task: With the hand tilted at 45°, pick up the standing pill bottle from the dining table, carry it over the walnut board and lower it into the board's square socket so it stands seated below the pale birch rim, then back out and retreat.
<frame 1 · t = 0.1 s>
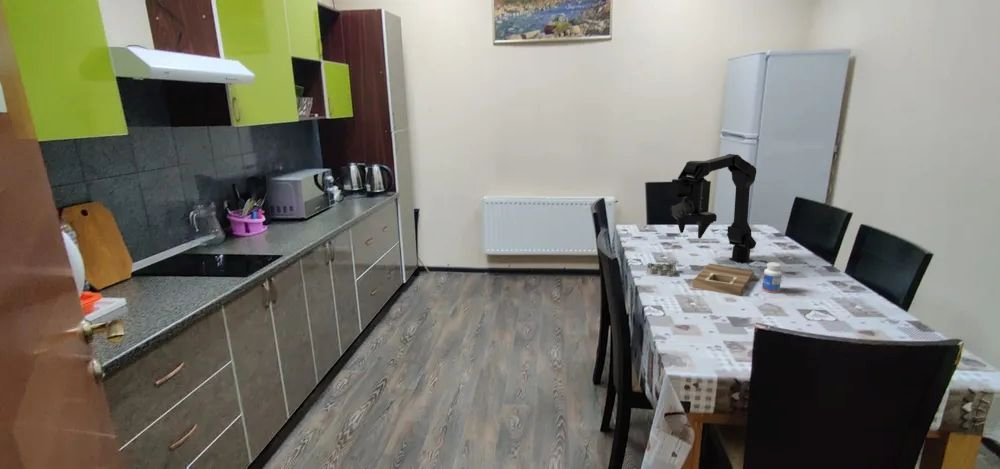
hand: (690, 235, 190), 15 cm above the table, tool pointing down, fingers open, 9 cm apart
egg carton: (660, 273, 194), on the table
pill bottle: (770, 291, 174), on the table
socket board: (723, 281, 183), on the table
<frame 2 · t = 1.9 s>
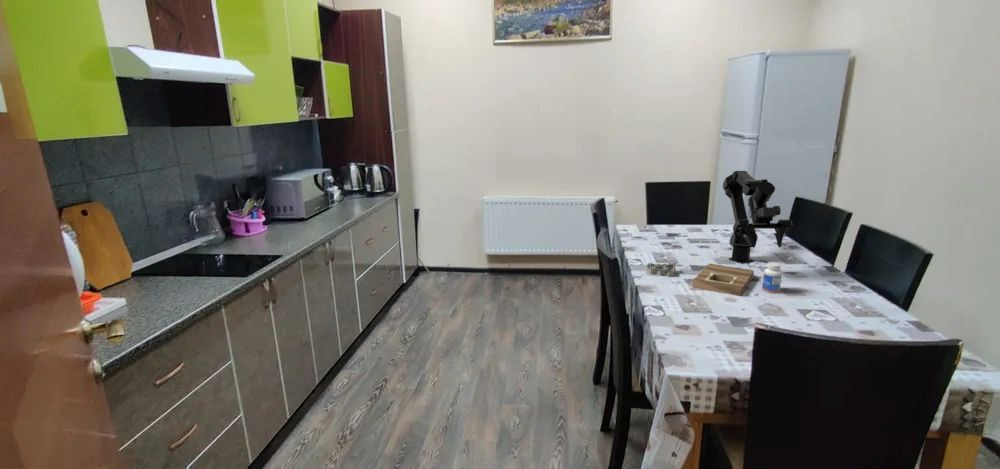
hand: (766, 246, 178), 13 cm above the table, tool tilted 45°, fingers open, 9 cm apart
nothing on the table moved.
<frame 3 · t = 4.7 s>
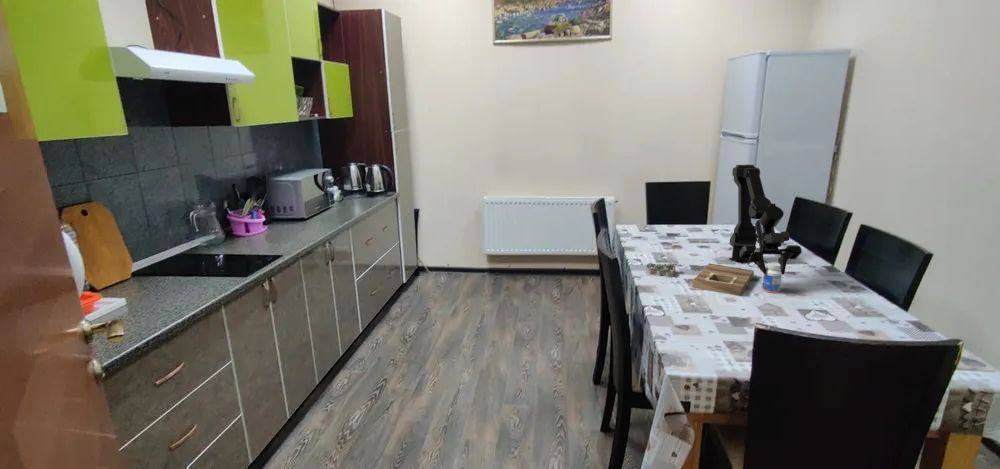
hand: (774, 273, 170), 7 cm above the table, tool tilted 45°, fingers closed on pill bottle, 5 cm apart
pill bottle: (770, 290, 174), on the table, touching gripper
everything else where it was.
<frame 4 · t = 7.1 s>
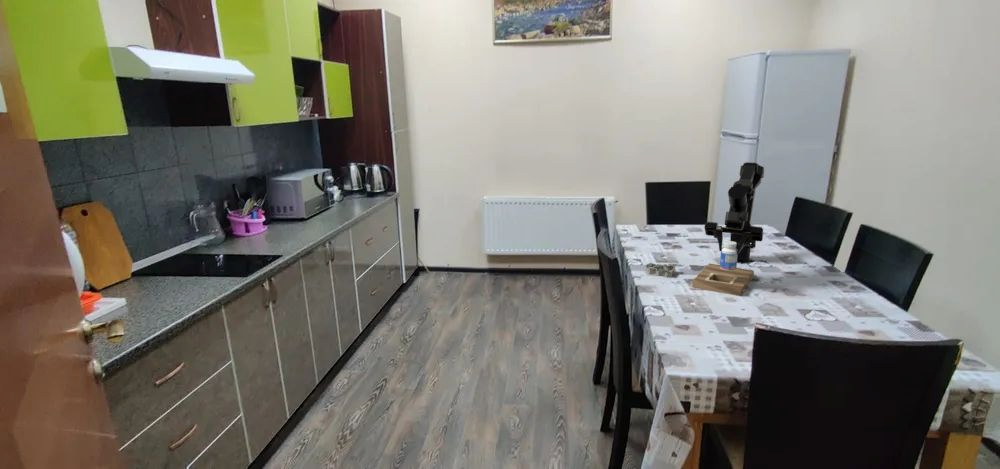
hand: (728, 251, 174), 13 cm above the table, tool tilted 45°, fingers closed on pill bottle, 5 cm apart
pill bottle: (727, 269, 177), point 6 cm above the table, touching gripper
everything else where it was.
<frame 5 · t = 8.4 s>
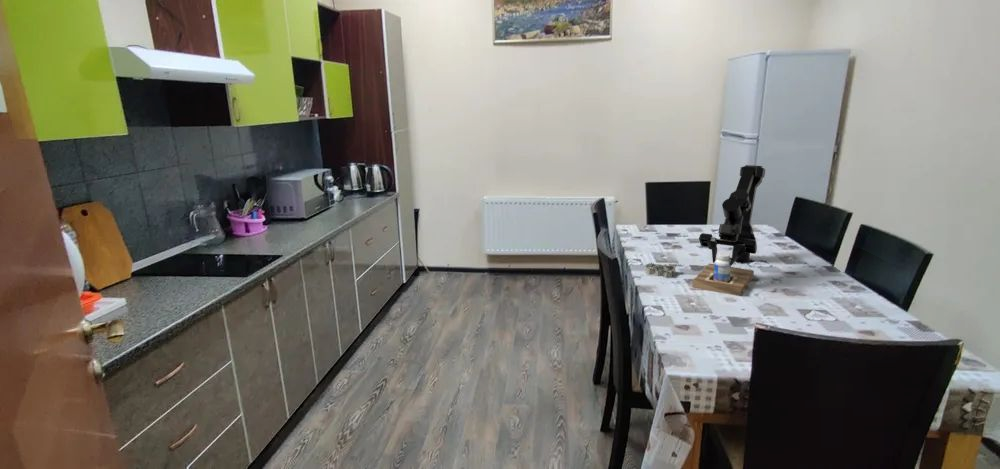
hand: (721, 263, 176), 9 cm above the table, tool tilted 45°, fingers closed on pill bottle, 5 cm apart
pill bottle: (721, 280, 179), point 2 cm above the table, touching gripper
everything else where it was.
when the fingers open (8 cm above the table, at t = 9.6 s): pill bottle drops 2 cm, resting in socket board.
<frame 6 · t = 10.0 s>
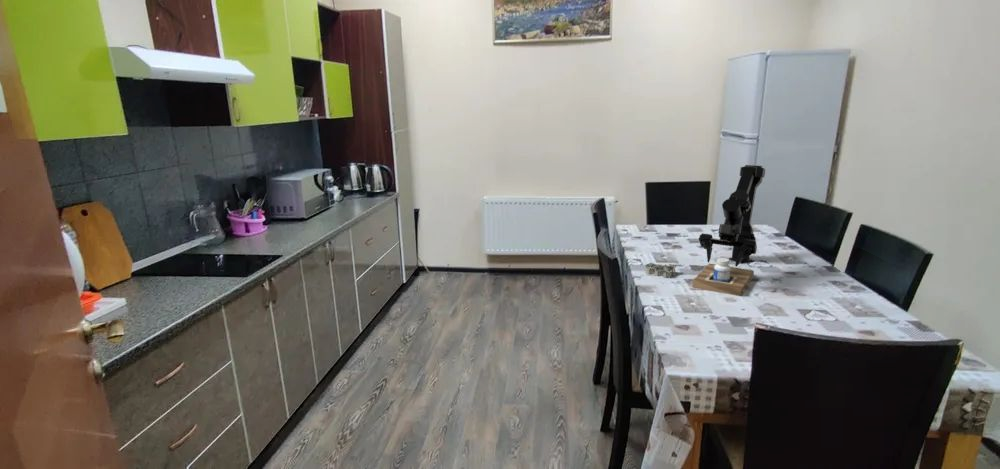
hand: (721, 263, 176), 9 cm above the table, tool tilted 45°, fingers open, 9 cm apart
pill bottle: (720, 285, 180), resting in socket board
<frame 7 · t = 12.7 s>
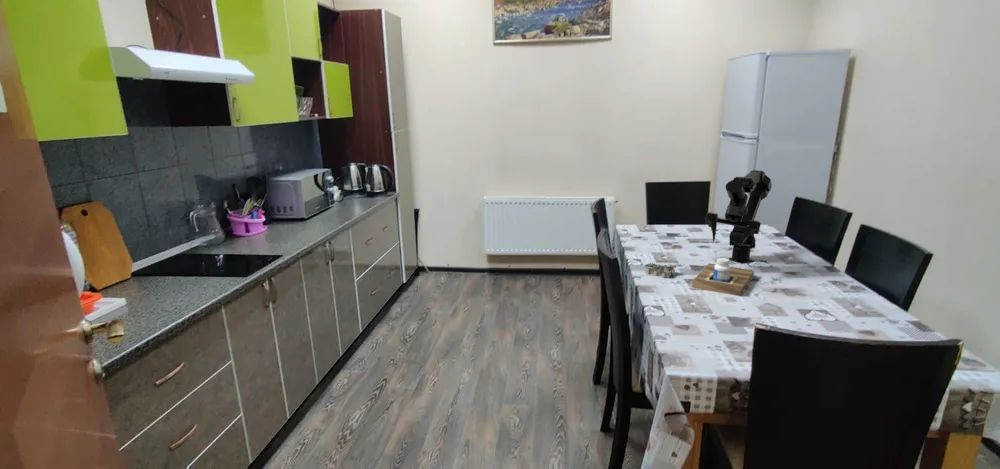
hand: (726, 243, 184), 13 cm above the table, tool tilted 40°, fingers open, 9 cm apart
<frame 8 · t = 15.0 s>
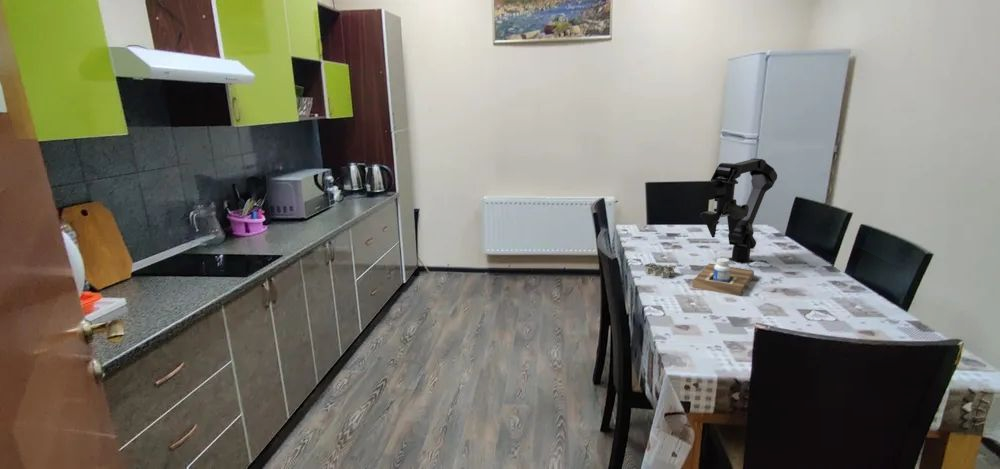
hand: (721, 235, 194), 13 cm above the table, tool pointing down, fingers open, 9 cm apart
at the end: pill bottle 0.1 cm from the target spot on the socket board, point 0.0 cm above the socket board's base; pill bottle tilted 0°; the gripper is holding nothing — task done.
